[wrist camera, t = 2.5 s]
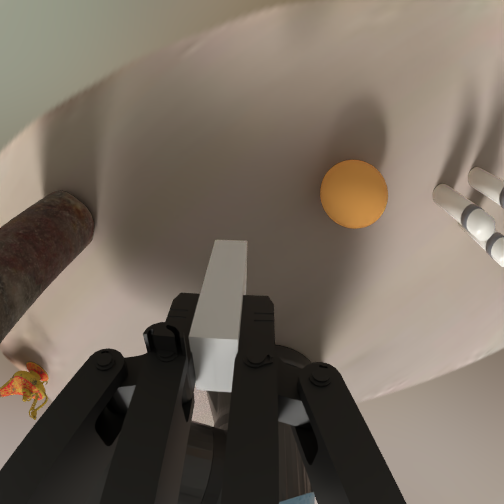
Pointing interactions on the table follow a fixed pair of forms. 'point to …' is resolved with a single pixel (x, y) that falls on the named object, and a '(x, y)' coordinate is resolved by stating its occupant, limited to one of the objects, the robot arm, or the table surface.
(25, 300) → the rusty brown cylinder
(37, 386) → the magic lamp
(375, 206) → the ball
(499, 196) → the pin
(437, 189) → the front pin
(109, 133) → the table surface
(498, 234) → the pin
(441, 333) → the table surface
